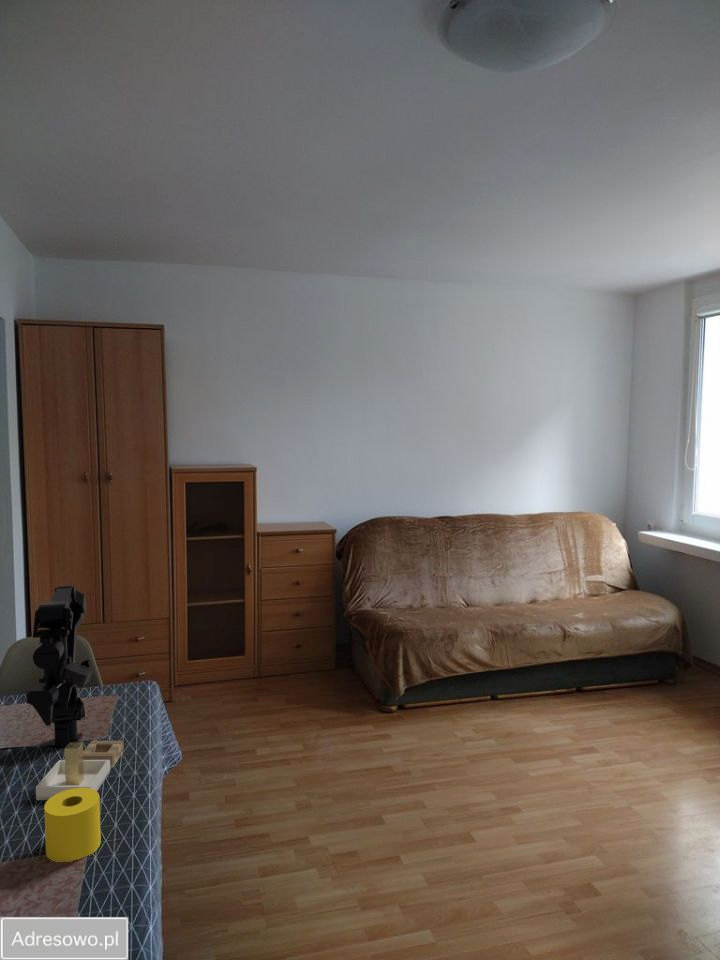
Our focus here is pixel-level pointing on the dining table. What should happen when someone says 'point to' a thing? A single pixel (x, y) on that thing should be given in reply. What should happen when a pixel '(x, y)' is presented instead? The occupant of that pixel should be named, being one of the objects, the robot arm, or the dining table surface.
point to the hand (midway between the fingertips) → (56, 716)
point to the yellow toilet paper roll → (72, 824)
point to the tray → (57, 783)
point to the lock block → (104, 751)
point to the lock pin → (74, 763)
